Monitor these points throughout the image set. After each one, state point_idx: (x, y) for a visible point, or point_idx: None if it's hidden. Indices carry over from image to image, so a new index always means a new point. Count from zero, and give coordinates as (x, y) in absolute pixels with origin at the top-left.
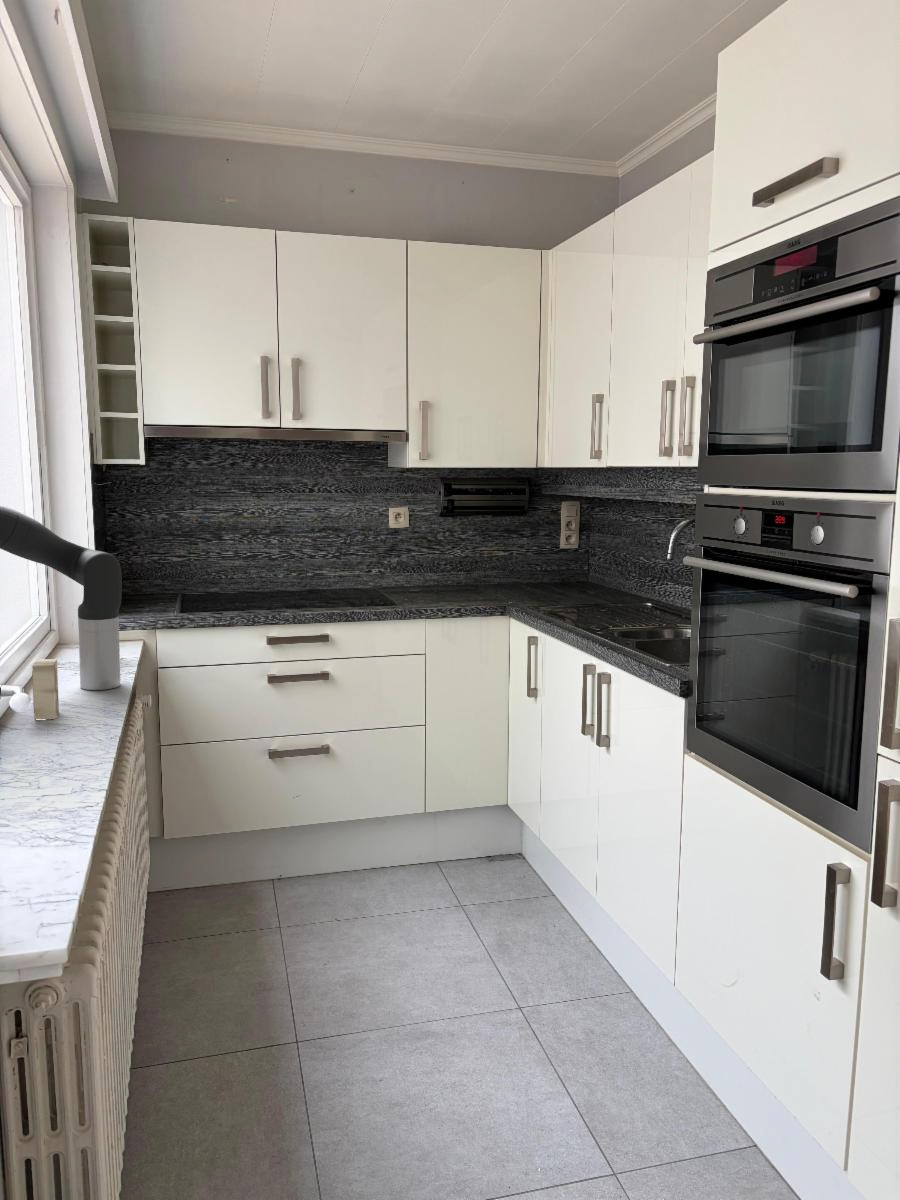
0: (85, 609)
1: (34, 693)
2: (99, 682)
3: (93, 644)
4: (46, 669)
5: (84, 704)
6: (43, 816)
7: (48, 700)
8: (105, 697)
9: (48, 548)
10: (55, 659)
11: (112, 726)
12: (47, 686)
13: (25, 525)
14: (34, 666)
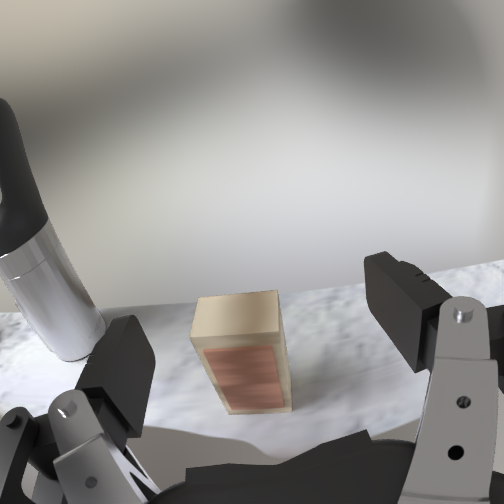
0: (19, 220)
1: (286, 378)
2: (98, 326)
3: (60, 276)
4: (279, 311)
5: (184, 349)
6: None
7: (287, 362)
8: (150, 325)
9: None
10: (204, 298)
11: (342, 289)
12: (284, 341)
13: None
14: (278, 328)
